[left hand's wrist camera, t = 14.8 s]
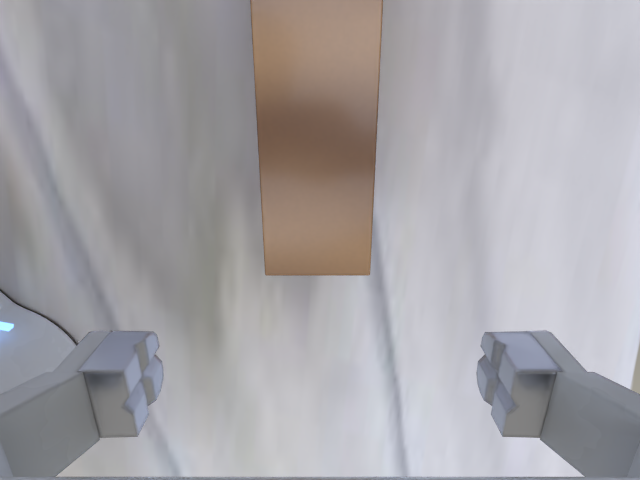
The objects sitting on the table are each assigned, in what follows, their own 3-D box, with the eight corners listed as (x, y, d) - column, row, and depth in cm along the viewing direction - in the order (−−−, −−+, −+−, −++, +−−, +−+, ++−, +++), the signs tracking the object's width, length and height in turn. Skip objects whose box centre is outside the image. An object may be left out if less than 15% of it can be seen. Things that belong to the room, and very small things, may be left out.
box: (353, 208, 35) (370, 275, 23) (283, 208, 35) (265, 275, 23) (366, -246, 25) (408, -546, 13) (268, -246, 25) (220, -545, 13)
